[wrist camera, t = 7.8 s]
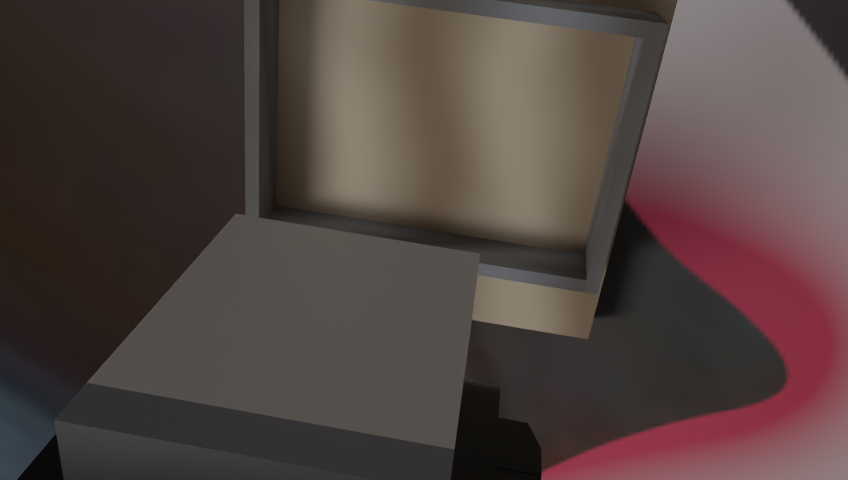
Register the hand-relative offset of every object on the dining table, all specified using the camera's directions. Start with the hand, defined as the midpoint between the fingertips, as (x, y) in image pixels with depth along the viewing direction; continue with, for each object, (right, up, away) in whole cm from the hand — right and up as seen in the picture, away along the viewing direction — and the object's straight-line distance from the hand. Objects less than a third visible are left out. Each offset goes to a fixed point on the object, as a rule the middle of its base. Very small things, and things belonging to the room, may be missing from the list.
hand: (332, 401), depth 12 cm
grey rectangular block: (0, 0, +1) cm, 1 cm away
